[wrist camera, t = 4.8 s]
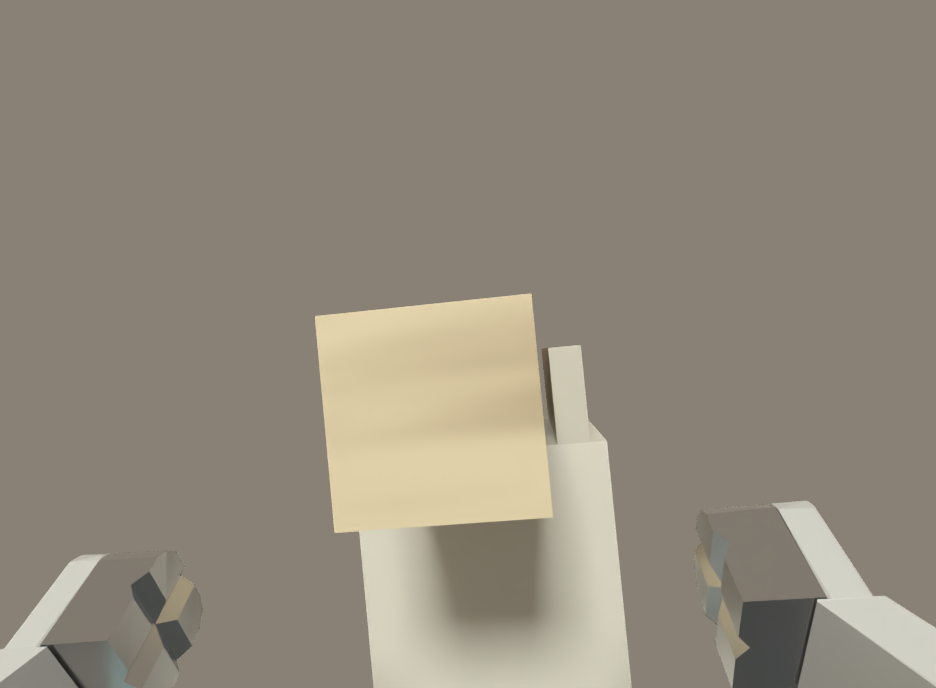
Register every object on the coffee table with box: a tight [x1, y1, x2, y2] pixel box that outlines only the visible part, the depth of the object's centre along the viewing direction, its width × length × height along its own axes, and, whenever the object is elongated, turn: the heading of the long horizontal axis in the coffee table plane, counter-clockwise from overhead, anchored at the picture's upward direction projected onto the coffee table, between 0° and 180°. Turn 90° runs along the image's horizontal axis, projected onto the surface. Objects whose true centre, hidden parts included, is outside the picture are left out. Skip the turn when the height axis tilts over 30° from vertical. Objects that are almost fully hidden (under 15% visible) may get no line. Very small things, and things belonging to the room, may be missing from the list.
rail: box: [315, 294, 553, 533], centre depth 21 cm, size 20×4×4 cm, turn 175°
